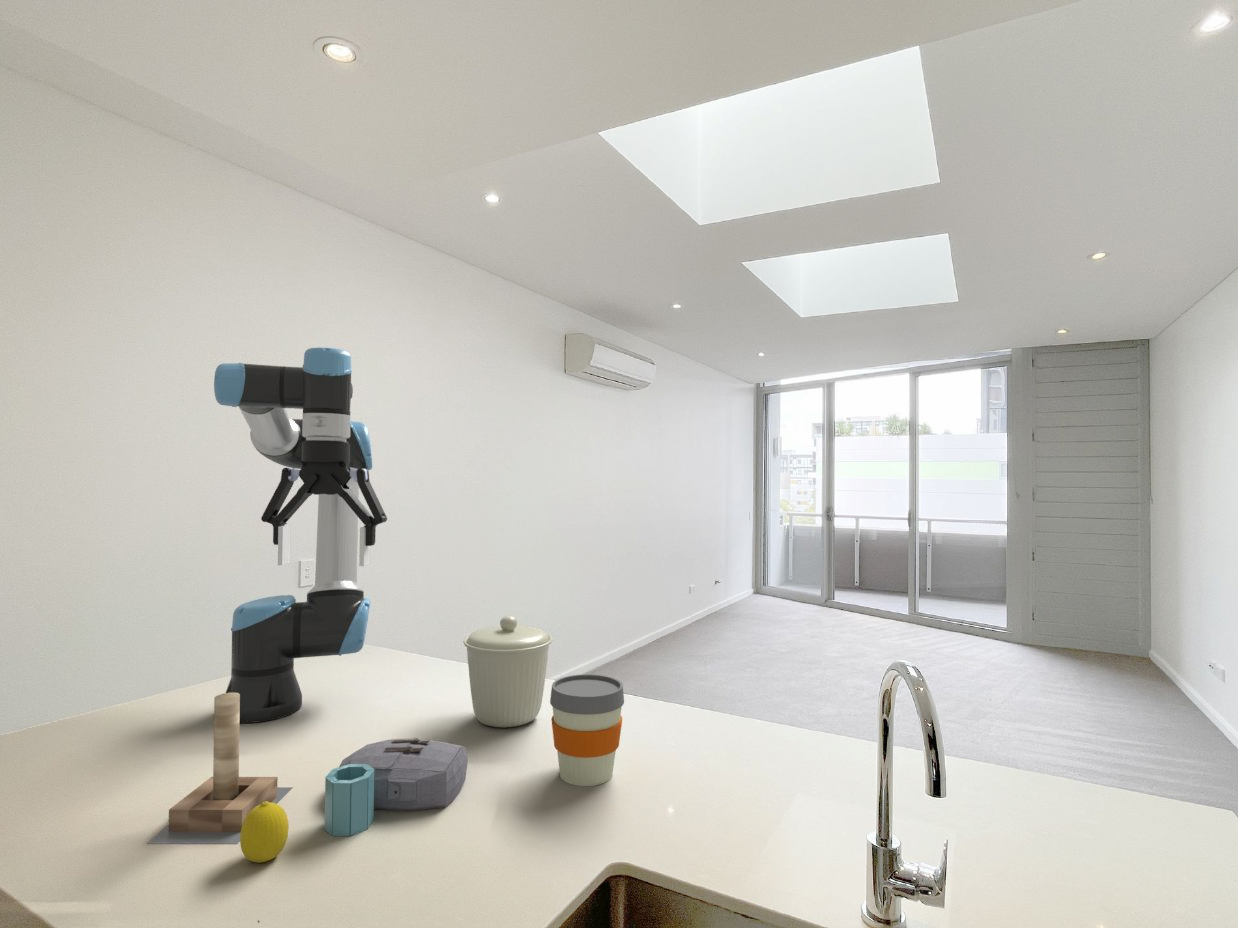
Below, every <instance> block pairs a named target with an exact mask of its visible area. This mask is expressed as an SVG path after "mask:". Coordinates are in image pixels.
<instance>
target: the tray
mask: <svg viewBox="0 0 1238 928" xmlns="http://www.w3.org/2000/svg"><path fill="white" fill-rule="evenodd" d="M293 788H294V787H289V786H288V787H282V786H281V787H279V786H277V797H276V798H275V799H274V800H273V801H272V802H271V803H275V804H278V803H280V801H281V800H283V798H284V797H286V795H287V794H288V793H289V792H290V791H291V790H292V789H293ZM168 830H169V825H167V826H166V827H165V828H164V829H162V830H161V831H160V832H159V833H157V834H156V835H155V836H153V837H152V839H150V840H149V841H148V842H146V843H145V844H146V845H238V844H239V843H240V834H241V832H168Z"/></svg>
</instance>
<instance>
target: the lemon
mask: <svg viewBox="0 0 1238 928" xmlns="http://www.w3.org/2000/svg"><path fill="white" fill-rule="evenodd" d="M289 827H290V826H289V819H288V816H287V814H286V811H285V809H284V808H283V806H281V805H280V804H278V803H277V804H275V803H270V802H268V801H264V802H263V803H262V804H260V805H258V806H256V807H255V808H253V809H252V810H251V811H250V812H249V813H248V815H247V816H246V818H245V820H244V822H243V825H242V829H241V834H240V842H239V843H240V844H239V845H240V849H241V853H242V854H243V856H245V858H246V859H247V860H248V861H250V862H253V863H259V864H260V863H265V862H266V863H267V862H269V861H271V860H273V859H274V858H275V857H277V856H278V855H279V854H280V853H281V852H282V850H283V849H284V847H285V846H286V843H287V842H288V841H287V840H288V835H289Z"/></svg>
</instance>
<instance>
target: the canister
mask: <svg viewBox="0 0 1238 928" xmlns="http://www.w3.org/2000/svg"><path fill="white" fill-rule="evenodd" d="M552 641H553V637H552V635H551V634H549V633H547V632H546V631H544V630H543V629H540V628H538V627H534V626H528V625H521V624H518V620H517V618H516V617H514V616H512V615H506V616H503V617H502V618H501V619H500V621H499V625H494V626H488V627H484V628H480V629H477V630H475V631H473V632H472V633H471V634H470V635H467V636H466V637H464V639H463V642H462V643H463V645H464V646H465V647H466V651H467V652H466V654H467V666H468V674H469V686H470V695H471V703H472V710H473V713H474V716H475V717H476V719H477V720H478V721H479V723H481V724H484V725H485V726H486V725H487V726H489V727H494V728H514V727H519V726H524V725H526V724H528V723H530V722H532V721H533V720H535V719H536V717H537V716H538V715H539V713H540V711H541V707H542V702H543V697H544V691H545V690H544V689H545V682H546V674H547V665H548V658H549V657H548V656H549V648H550V645H551V644H552Z"/></svg>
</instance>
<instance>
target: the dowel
mask: <svg viewBox="0 0 1238 928" xmlns="http://www.w3.org/2000/svg"><path fill="white" fill-rule="evenodd" d="M213 700H214V701H213V702H214V703H213V706H214V707H213V710H214V711H213V712H214V713H213V770H212V771H213V772H212V773H213V774H212V777H213V800H234V799H235V798H236V797H238V789H239V777H240V773H239V772H240V771H239V770H240V769H239V768H240V723H239V719H240V694H239V693H226V692H225V693H221V694H218V695H216V696H214V699H213Z"/></svg>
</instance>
